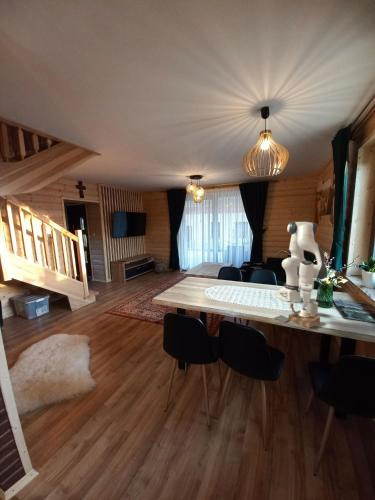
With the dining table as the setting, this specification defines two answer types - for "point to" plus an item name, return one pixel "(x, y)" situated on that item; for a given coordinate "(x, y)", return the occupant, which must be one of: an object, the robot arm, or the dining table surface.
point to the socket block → (304, 319)
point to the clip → (292, 309)
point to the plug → (304, 313)
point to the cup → (312, 307)
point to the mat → (282, 318)
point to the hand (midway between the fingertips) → (305, 304)
